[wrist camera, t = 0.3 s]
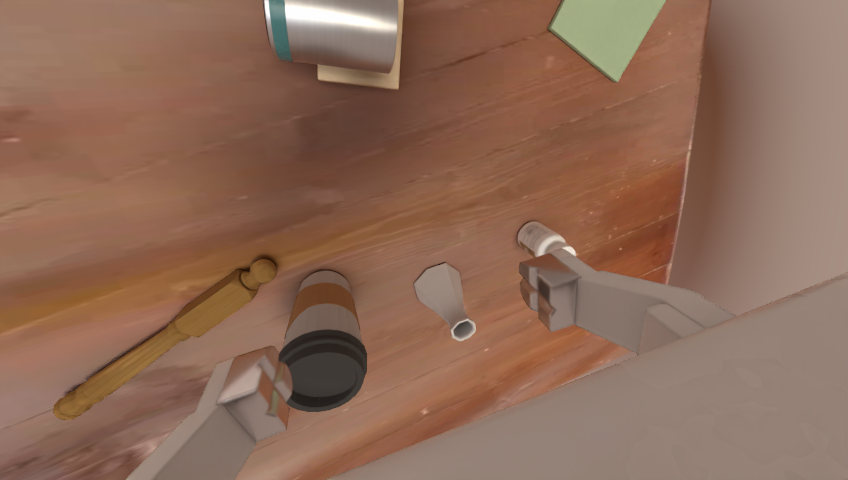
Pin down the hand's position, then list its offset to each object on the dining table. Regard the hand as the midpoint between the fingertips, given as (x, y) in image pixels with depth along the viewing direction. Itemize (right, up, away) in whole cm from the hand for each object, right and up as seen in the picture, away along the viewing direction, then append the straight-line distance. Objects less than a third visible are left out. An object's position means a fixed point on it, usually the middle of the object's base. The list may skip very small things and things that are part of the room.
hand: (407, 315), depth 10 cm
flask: (+3, -4, +35) cm, 36 cm away
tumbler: (-7, +21, +17) cm, 28 cm away
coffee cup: (-13, -4, +31) cm, 33 cm away
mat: (+22, +29, +25) cm, 44 cm away
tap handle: (-30, -8, +27) cm, 41 cm away
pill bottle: (+16, +3, +36) cm, 40 cm away
